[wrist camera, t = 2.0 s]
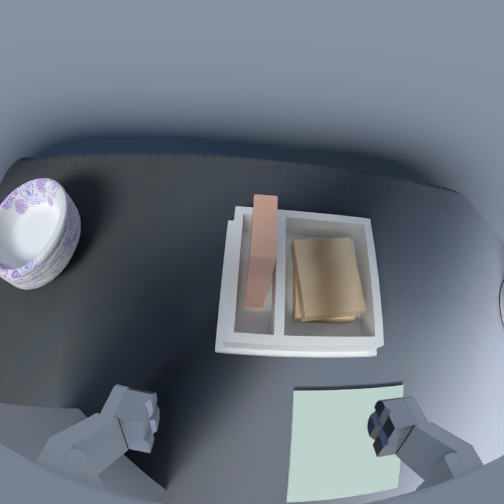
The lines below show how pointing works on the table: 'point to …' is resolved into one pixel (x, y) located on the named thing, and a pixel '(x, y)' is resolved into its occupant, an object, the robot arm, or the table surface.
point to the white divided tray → (281, 293)
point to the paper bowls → (37, 233)
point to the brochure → (55, 421)
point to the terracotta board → (261, 249)
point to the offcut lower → (297, 318)
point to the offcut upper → (327, 278)
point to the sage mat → (337, 445)
